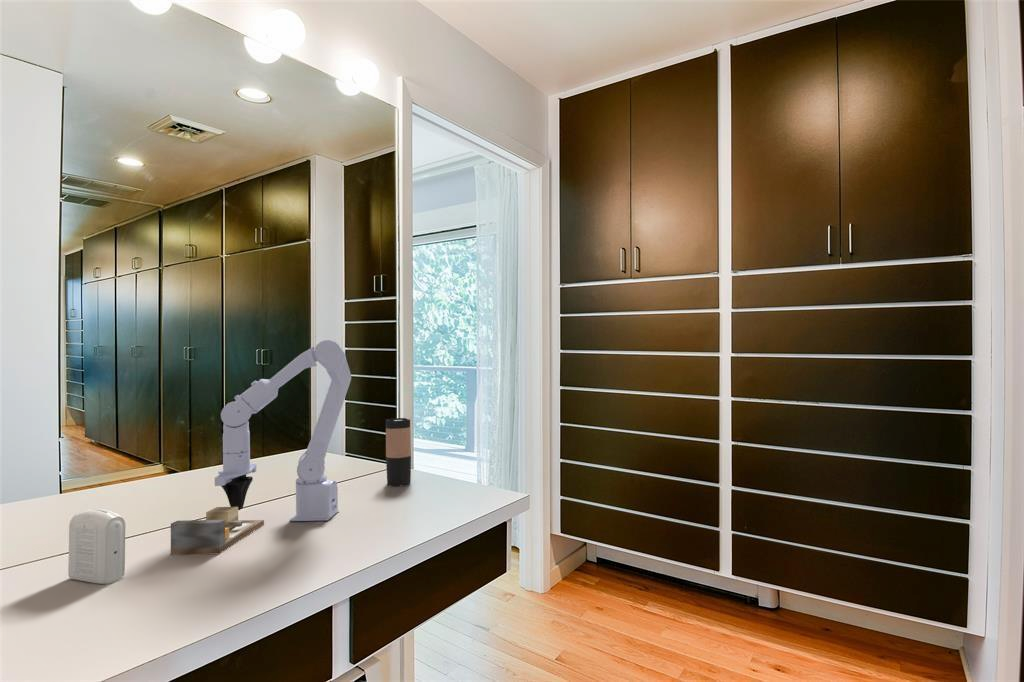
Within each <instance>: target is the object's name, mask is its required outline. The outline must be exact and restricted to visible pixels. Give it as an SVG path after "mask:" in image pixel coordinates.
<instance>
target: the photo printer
mask: <svg viewBox="0 0 1024 682" xmlns="http://www.w3.org/2000/svg"><path fill="white" fill-rule="evenodd" d="M125 568H126V521H125V519H124V518H123V517H122V516H121V515H120V514H119V513H116V512H113V511H111V510H108V509H103V508H91V509H87V510H83V511H80V512H78V513H76V514H74V516H72V518H71V520H70V522H69V524H68V568H67V571H68V572H67V573H68V574H67V576H68V578H70V579H71V580H76V581H82V582H88V583H92V584H101V585H102V584H105V585H108V584H112V583H115V582H117V581H119V580H122V578H123V577H124V575H125V571H126V569H125Z"/></svg>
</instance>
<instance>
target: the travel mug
mask: <svg viewBox="0 0 1024 682" xmlns="http://www.w3.org/2000/svg"><path fill="white" fill-rule="evenodd" d="M411 435H412V434H411V418H409V419H408V418H406V417H395V418H388V419H385V462H386V463H385V464H386V483H387V486H389V485H391V486H390V487H401V486H400V485H404V486H407V485H406V484H408V485H410V484H411V483H412V482H411V475H412V474H411V473H412V472H411V471H412V447H411V446H412V443H411V442H412V441H411V440H412V439H411ZM409 483H410V484H409Z"/></svg>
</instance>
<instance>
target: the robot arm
mask: <svg viewBox="0 0 1024 682" xmlns="http://www.w3.org/2000/svg"><path fill="white" fill-rule="evenodd" d="M317 362H318V363H319V364H320V365H321V366H322V367H323V368H324V369H325V370H326V371H325V372H327V374H328V376H329V378H330V380H331V381H330V384H329V387H328V390H327V393H326V395H325V399H324V401H323V404H322V407H321V409H320V413H319V415H318V418H317V421H316V423H315V426H314V430H313V432H312V435H311V438H310V441H309V443H308V445H307V448H306V449H305V452H304V453H303V454H302V455H300V457H299V460H298V462H297V463H298V464H297V466H296V474H297V477H298V478H296V479H295V515H293V516H292V517H290V518H289V519H288V521H289V522H307V521H309V522H310V521H311V522H315V521H316V522H317V521H328V520H330V519H331V518H333V516H335V515H337V513H338V512H340V510H339V507H338V506H339V504H338V503H339V502H338V498H339V497H338V494H339V493H338V490H339V489H338V483H337V481H336V480H330V479H327V475H326V474H324V473H325V471H326V469H325V467H326V466H325V463H326V462H325V459H326V455H327V452H328V448H329V445H330V442H331V439H332V436H333V433H334V430H335V427H336V424H337V421H338V420H339V419H338V418H339V416H340V413H341V410H342V408H343V404H344V402H345V398H346V395H347V393H348V389H349V387H350V384H351V382H352V373H351V370H350V367H349V364H348V361H347V356H346V353H345V352H344V350H343V349H342V348H341V346H340V345H339V344H338V343H337V342H336V341H333V340H332V339H324V340H322V341H320V342H318V343H317V344H316V345H315V346H313V347H310V348H308V349H307V350H305V351H303V352H302V353H300V354H299V355H298V356H296V357H294V359H293V360H292V361H290V362H288V364H286V365H285V366H284V367H283V368H282V369H281V370H280V371H278V372H276V374H275V375H273V376H272V377H271V378H269V379H266V378H260V379H259V380H258V381H257V380H254V381H252V382H251V384H250V385H251V386H250V387H249V388H247V389H246V390H245V391H244V392H242V393H241V394H237V395H235V396H234V398H233V399H234V400H235V401H231V402H227V404H225V406H224V407H223V408H222V410H221V411H220V419H221V421H222V423H223V424H222V425H223V426H222V430H223V433H222V470H219V471H218V475H217V476H216V477H214V486H215V487H221V488H222V489H223V492H224V493H225V495H226V497H227V500H228V504H229V507H238V511H240V510H242V509H243V508H244V505H245V501H246V497H247V493H248V490H249V488H250V485H251V483H252V482H253V481H254V480H253V476H248V475H249V474H252V473H257V464H256V463H251V445H250V443H251V437H250V436H251V433H250V426H249V425H250V422H249V420H250V418H251V416H252V415H253V414H255V415H256V414H258V412H260V411H261V410H262V409H264V408H265V407H266V406H267V405H269V404H270V403H271V402H272V401H274V400H275V399H276V398H277V397H278V395H279V393H278V392H279V388H281V387H283V386H284V385H285V384H286V383H287V382H289V381H290V380H291V379H293V378H294V377H295V376H297V375H299V374H300V373H301V372H302V371H304V370H306V369H309V368H312V367H313V368H314V367H317V365H318V364H317Z"/></svg>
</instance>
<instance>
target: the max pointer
mask: <svg viewBox="0 0 1024 682" xmlns="http://www.w3.org/2000/svg"><path fill="white" fill-rule="evenodd" d="M228 537H229V528H225V539H227V538H228Z"/></svg>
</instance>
